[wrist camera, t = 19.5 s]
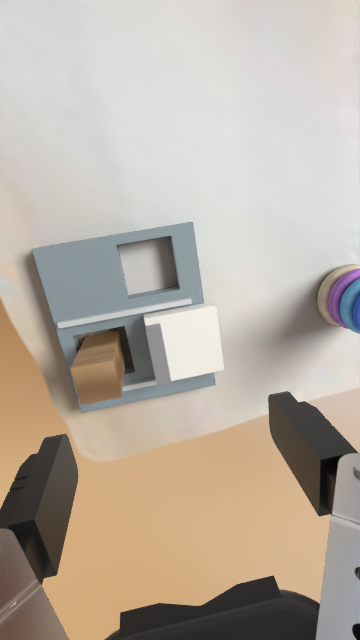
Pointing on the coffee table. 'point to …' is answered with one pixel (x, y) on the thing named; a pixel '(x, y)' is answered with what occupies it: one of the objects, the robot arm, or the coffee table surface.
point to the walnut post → (99, 368)
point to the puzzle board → (118, 303)
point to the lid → (184, 342)
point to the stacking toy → (341, 297)
